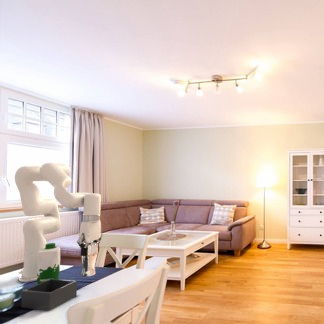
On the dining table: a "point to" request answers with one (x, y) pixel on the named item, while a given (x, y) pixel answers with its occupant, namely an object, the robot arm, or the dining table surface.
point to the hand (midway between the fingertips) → (89, 253)
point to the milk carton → (48, 263)
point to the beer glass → (90, 259)
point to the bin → (49, 294)
